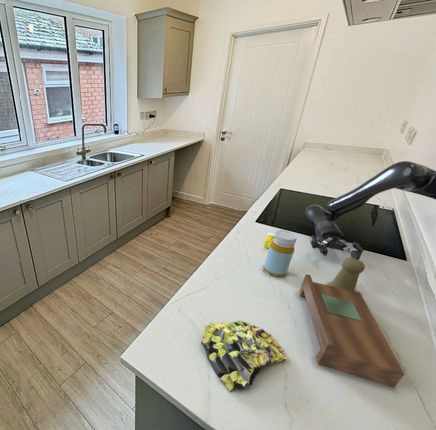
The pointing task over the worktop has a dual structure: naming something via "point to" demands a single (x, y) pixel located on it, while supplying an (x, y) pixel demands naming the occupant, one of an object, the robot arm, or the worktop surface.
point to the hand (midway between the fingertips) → (341, 256)
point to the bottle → (280, 253)
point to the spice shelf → (349, 334)
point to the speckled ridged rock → (239, 351)
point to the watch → (269, 240)
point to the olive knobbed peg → (348, 274)
